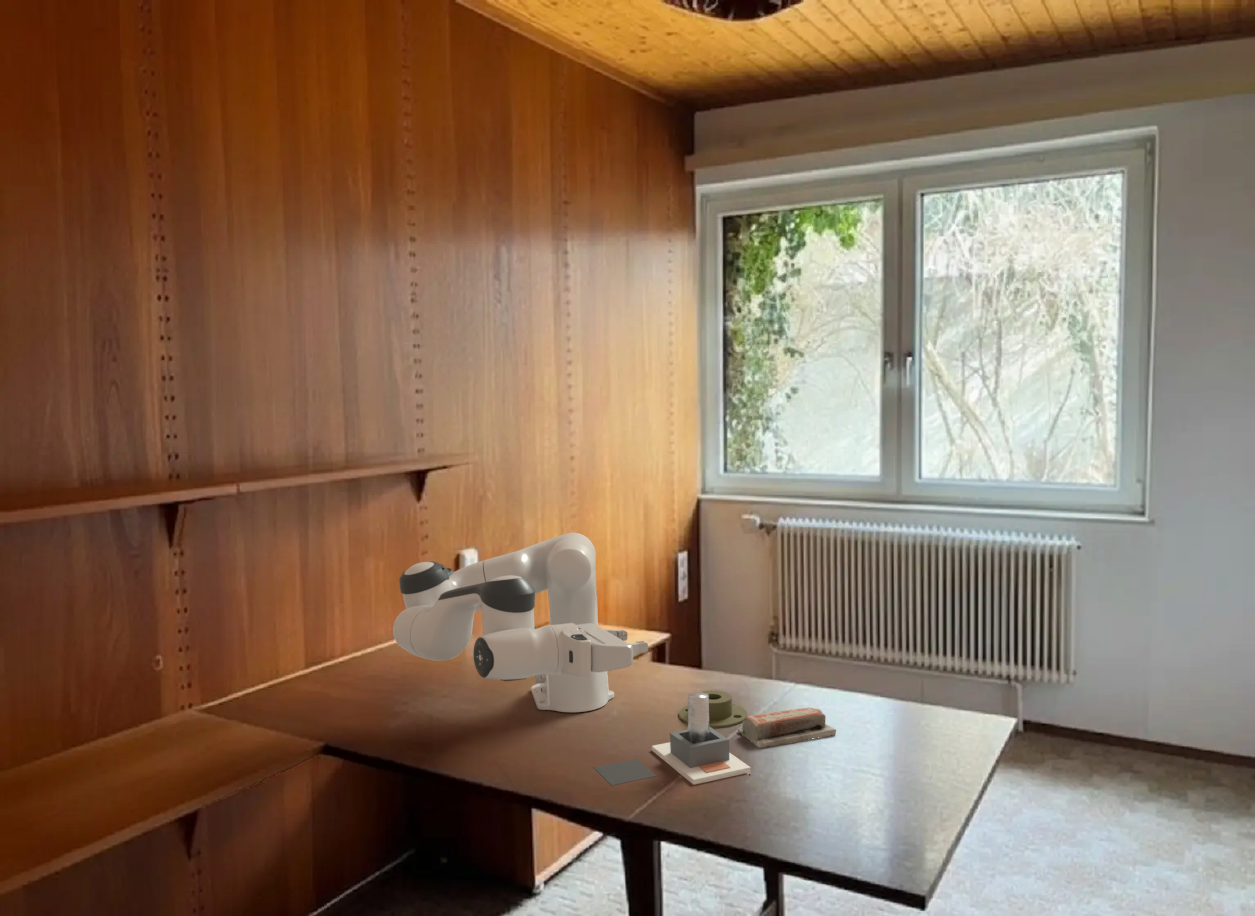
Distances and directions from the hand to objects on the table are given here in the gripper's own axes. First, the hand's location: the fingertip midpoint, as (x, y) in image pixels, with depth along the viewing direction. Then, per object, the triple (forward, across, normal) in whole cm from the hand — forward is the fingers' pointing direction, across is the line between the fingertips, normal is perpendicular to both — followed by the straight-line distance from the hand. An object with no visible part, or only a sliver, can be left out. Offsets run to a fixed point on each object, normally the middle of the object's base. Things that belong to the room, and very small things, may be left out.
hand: (636, 640), depth 175 cm
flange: (+28, -22, -25) cm, 44 cm away
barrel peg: (+13, 0, -24) cm, 27 cm away
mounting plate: (+14, 0, -26) cm, 29 cm away
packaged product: (+37, -6, -25) cm, 45 cm away
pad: (-2, -2, -26) cm, 26 cm away
